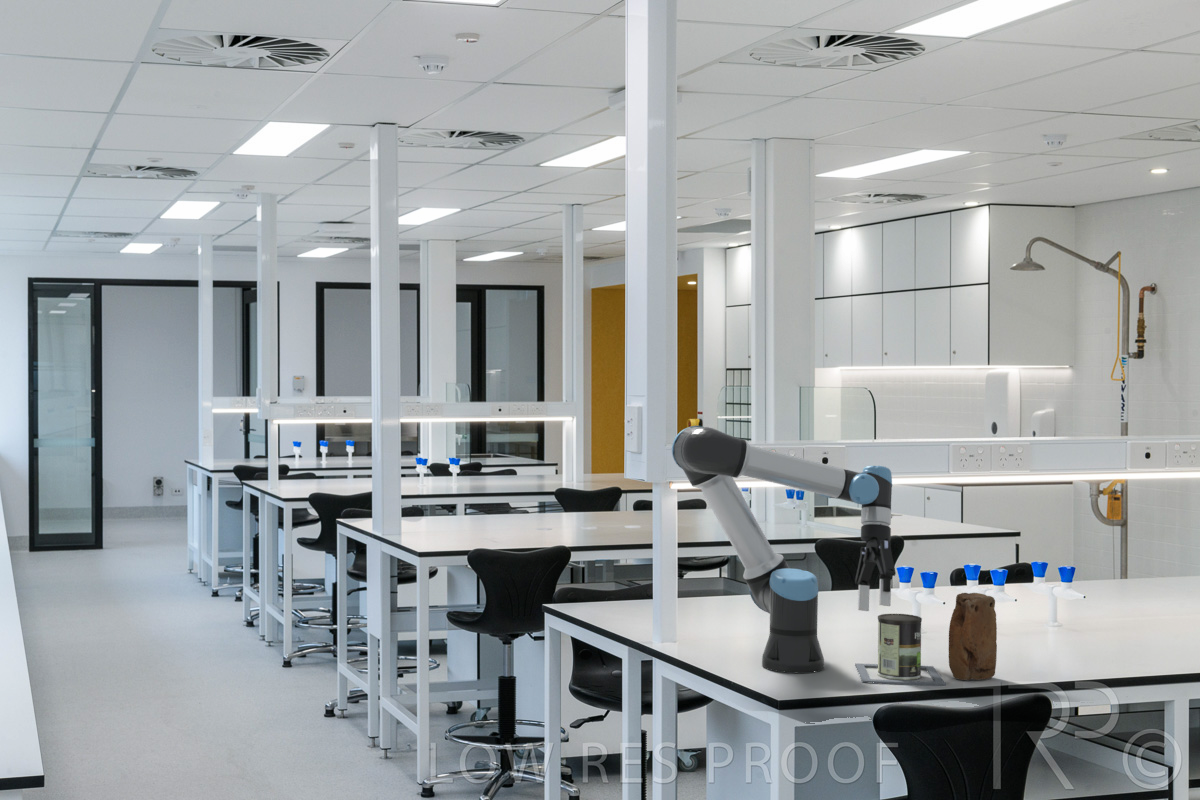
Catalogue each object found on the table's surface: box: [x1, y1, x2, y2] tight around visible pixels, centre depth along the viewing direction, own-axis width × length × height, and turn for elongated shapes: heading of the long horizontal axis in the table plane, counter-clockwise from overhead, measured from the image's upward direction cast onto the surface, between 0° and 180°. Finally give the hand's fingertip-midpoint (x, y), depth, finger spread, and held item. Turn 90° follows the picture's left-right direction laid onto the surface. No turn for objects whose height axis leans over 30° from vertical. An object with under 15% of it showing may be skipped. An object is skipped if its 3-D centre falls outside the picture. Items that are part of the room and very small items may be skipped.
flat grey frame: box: [854, 663, 947, 687], centre depth 291 cm, size 19×19×1 cm
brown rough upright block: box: [948, 592, 998, 681], centre depth 289 cm, size 11×8×20 cm
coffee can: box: [877, 613, 923, 681], centre depth 291 cm, size 10×10×14 cm
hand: (873, 608), depth 308 cm, fingers open, 13 cm apart
